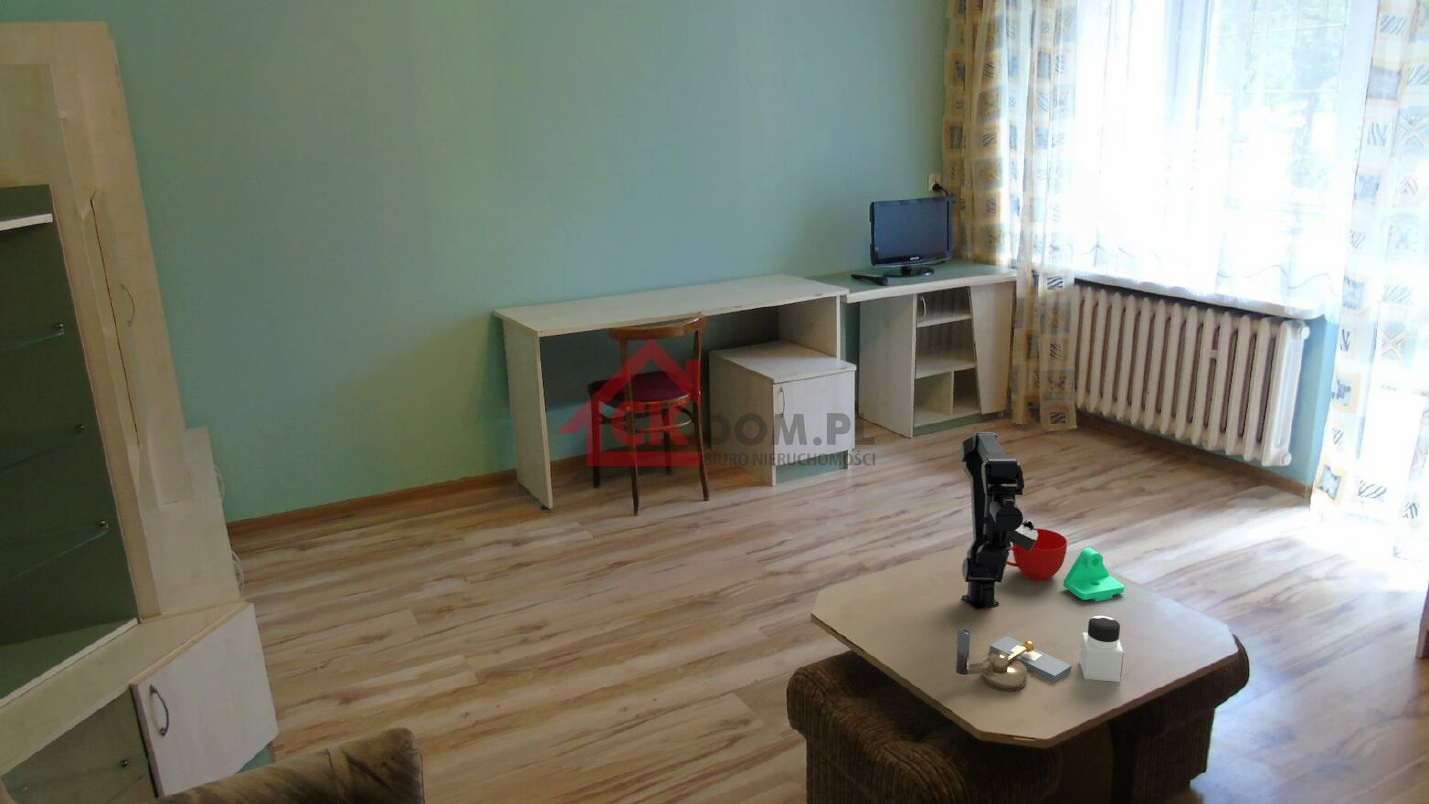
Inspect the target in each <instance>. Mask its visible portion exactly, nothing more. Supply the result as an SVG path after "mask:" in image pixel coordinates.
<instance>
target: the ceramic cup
mask: <svg viewBox="0 0 1429 804" xmlns="http://www.w3.org/2000/svg"><path fill="white" fill-rule="evenodd" d="M1034 530H1037V533H1038V537H1037V540H1036V542H1035V544H1034V546H1033V548H1032V550H1031V551H1026V550H1024V548H1022V547H1020V546H1018V545H1015V544H1013V543H1012V546H1011V549H1010V551H1012V554H1013V560H1014V562H1011V561H1008V560H1007V564H1006V565H1008V566H1010V567H1017V568H1018V570H1019V571H1020V572H1021V573H1022V574H1023V576H1024V577H1025V578H1027V579H1028V580H1032V581H1037V582H1045V581H1048V580H1050V579H1051V578H1052V577H1054V576H1055V575H1056V574H1057V573H1058V572H1059V571H1060V569H1061V568H1062V566H1063V564H1064V561H1065V558H1066V554H1067V550H1068V549H1067V548H1068V541H1067V538H1066V537H1065V536H1064V535H1062V534H1060V533H1058V532H1056V531H1053V530H1049V529H1046V528H1045V529H1044V528H1035V527H1034Z"/></svg>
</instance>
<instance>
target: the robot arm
mask: <svg viewBox="0 0 1429 804" xmlns="http://www.w3.org/2000/svg"><path fill="white" fill-rule="evenodd" d="M997 438H998V437H997V433H996V432H993V431H976V432H973V434H972V436H971V437H968V438H967V439H965V440H963V441H962V443H961V445H960V449H959V461H960V462H961V463H962V470H963V472H964V474H965V475H966V476H967V477H968V479H969V482H970V500H971V501H970V502H971V504H970V505H971V518H972V520H971V521H972V523H971V524H972V542H971V544H970V546H969V548H968V550H967V551H966V557H965V558H964V560H963V562H962V565H961V566H962V567H961V568H962V569H961V571H962V573H961V574H962V576H963V580H964V582H965V583H967V594H964V595H961V599H962V600H964V601H965V602H966V603H967V604H969V605H970V606H971V607H972V608H974V610H980V609H981V610H982V609H987V608H991V607H995V606H999V605H1000V602H999V601H998V600H996V599H995V592H996V590H995V586H996V585H995V584H996V583H1002V581H1003V578H1004V574H1005V573H1004V572H1005V569H1006V567H1007V565H1008V564H1007V561H1008V558H1009V557H1010V551H1011V550H1010V549H1011V547H1013V544H1015V545H1018V546H1020V547H1022V548H1024V550H1026V551H1031V550H1032V548H1033V546H1034V544H1035V542H1036V540H1037V537H1038V533H1037V530H1034V528H1035V521H1032V520H1030V519H1026V520H1024V516H1023V512H1022V510H1021V509H1020V508H1019V505H1018V504H1017V502H1016V496H1023V493H1024V492H1023V490H1024V489H1025V481H1024V473H1023V468H1022V466H1021V464H1020V463H1019V462H1018V461H1017V459H1016V457H1014V455H1012V454H1008V453H1005V452H1004V450H1003V448H1002V447H1001V445H1000V443H999V441H998V439H997ZM1010 485H1011V486H1010ZM1011 543H1012V544H1011Z"/></svg>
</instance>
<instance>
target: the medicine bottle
mask: <svg viewBox="0 0 1429 804" xmlns="http://www.w3.org/2000/svg"><path fill="white" fill-rule="evenodd" d="M1087 627H1088V628H1087V632H1082V634H1081V641H1080V651H1079V665H1080V667H1081V671H1082V676H1083V679H1084V680H1091V681H1104V682H1113V683H1114V682H1115V683H1121V680H1122V671H1123V660H1124V655H1125V654H1124V649H1123V647H1122V644H1121V641H1120V631H1121V630H1120V629H1121V624H1120V623H1119V622H1118V621H1117V620H1116V619H1114V618H1112V617H1110V616H1107V615H1096V616H1093V617H1091V618H1090V619H1089V620H1088V626H1087Z"/></svg>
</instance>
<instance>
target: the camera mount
mask: <svg viewBox="0 0 1429 804" xmlns="http://www.w3.org/2000/svg"><path fill="white" fill-rule="evenodd" d="M1062 582H1063V588H1065V589H1066V590H1068V591H1069V592H1071V593H1072V594H1073V595H1074V596H1076V597H1077V598H1079V599H1080V600H1083V601H1086V600H1093V601H1094V602H1098V601H1105V600H1109V599H1111V600H1112V599H1113V595H1118V594H1119V595H1120V594H1123V593H1125V585H1124V584H1123V583H1121V582H1120V581H1118V580H1117V579H1116V578H1114V577H1113V576H1111V575H1110V574H1109V572H1108V570H1107V568H1106V566H1105V565H1104V558H1103V555H1102V554H1101V553H1099V552H1097V551H1096V550H1094V549H1092V548H1091V547H1086V548H1084V549H1083V550H1081V551H1080V553H1079V555H1078V557H1077V558H1076V560H1075V561H1074V563H1073V565H1072V566H1071V568H1070V569H1069V571H1068V572H1067V574H1066V576H1065V578H1064V579H1063V581H1062Z"/></svg>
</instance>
